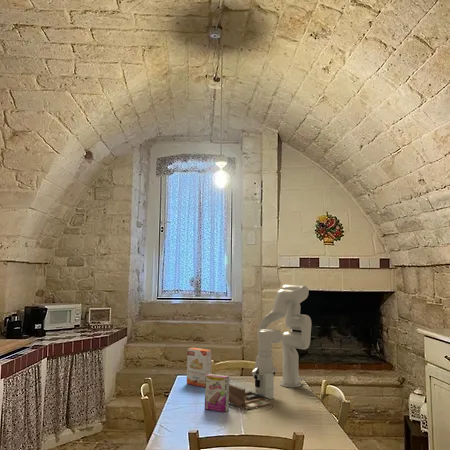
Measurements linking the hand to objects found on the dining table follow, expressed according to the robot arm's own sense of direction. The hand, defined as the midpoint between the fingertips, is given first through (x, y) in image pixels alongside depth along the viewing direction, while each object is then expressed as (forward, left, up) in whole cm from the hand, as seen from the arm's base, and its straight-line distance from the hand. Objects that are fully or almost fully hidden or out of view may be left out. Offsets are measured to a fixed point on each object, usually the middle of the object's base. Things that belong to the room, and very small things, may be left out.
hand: (264, 385), depth 236 cm
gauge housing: (+13, +2, -6) cm, 15 cm away
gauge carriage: (+8, +2, -5) cm, 10 cm away
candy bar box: (+33, +2, -6) cm, 34 cm away
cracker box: (+14, -41, -6) cm, 44 cm away
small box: (-1, 0, -6) cm, 6 cm away
